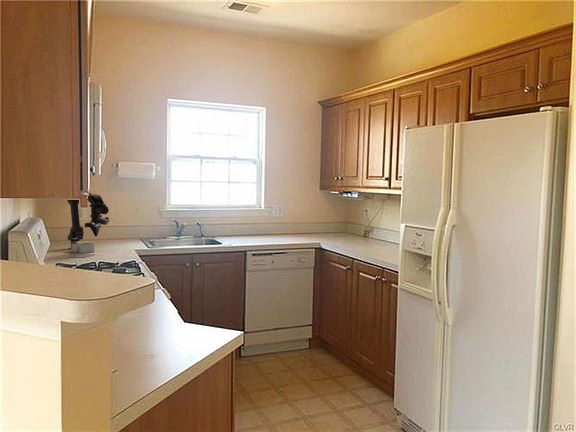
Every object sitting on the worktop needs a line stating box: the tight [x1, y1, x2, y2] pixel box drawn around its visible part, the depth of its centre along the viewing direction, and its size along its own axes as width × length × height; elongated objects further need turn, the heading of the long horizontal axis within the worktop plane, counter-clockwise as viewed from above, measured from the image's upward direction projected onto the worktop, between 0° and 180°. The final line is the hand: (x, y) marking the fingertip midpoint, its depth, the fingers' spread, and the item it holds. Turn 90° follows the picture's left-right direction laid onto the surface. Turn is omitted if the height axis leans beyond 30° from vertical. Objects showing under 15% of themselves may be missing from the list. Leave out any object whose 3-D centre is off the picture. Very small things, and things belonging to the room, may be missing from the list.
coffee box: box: [70, 240, 95, 254], centre depth 331 cm, size 9×6×16 cm
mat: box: [67, 253, 96, 259], centre depth 313 cm, size 12×12×1 cm
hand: (96, 236), depth 330 cm, fingers closed
